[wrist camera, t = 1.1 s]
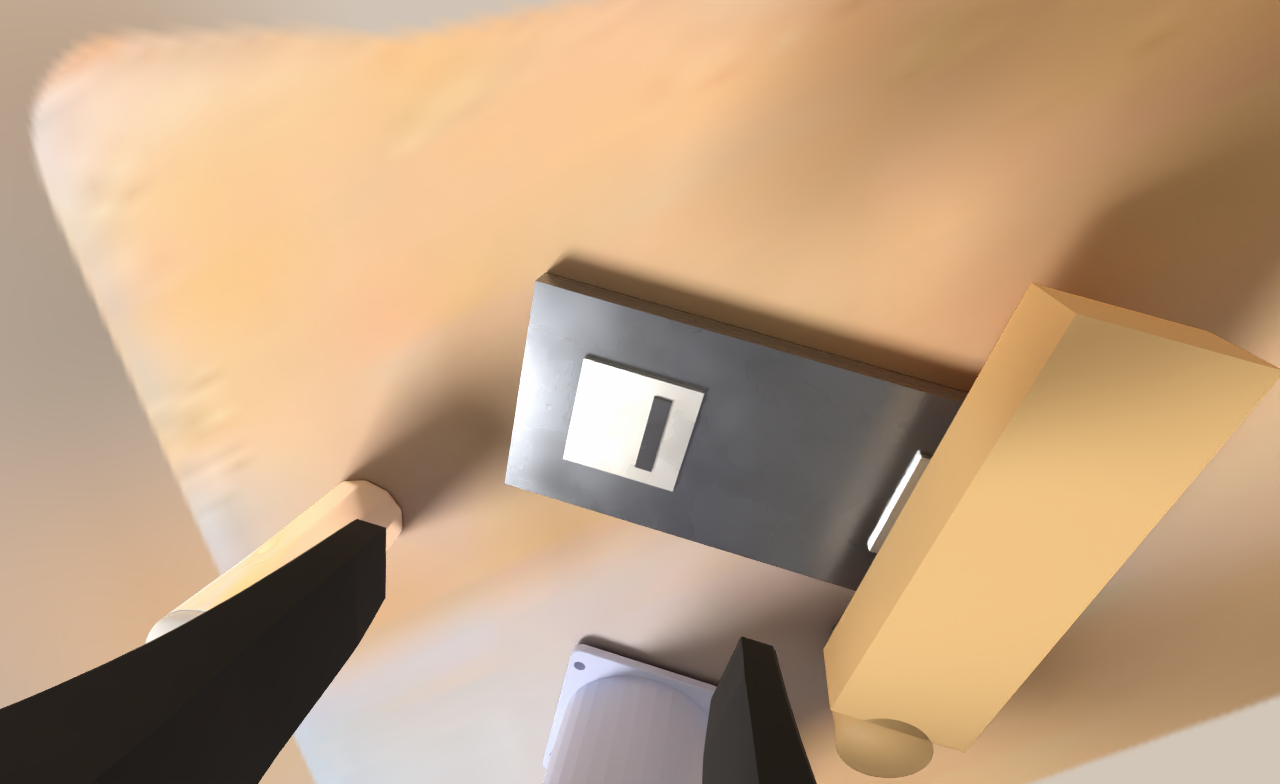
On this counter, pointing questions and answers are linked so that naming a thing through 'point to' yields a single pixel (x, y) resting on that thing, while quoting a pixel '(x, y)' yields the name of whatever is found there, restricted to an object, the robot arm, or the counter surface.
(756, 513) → the panel
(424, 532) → the counter surface
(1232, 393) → the light wooden plank
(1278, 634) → the counter surface
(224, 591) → the milkshake
